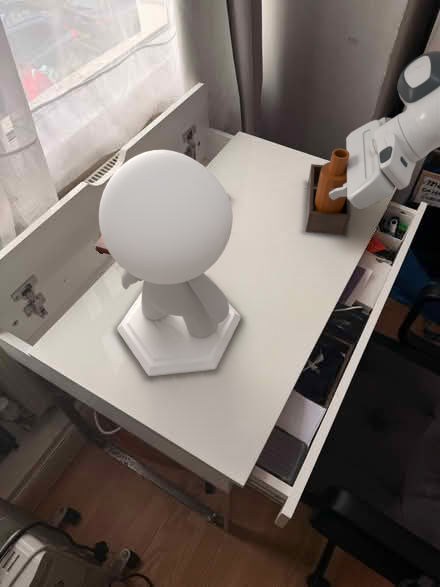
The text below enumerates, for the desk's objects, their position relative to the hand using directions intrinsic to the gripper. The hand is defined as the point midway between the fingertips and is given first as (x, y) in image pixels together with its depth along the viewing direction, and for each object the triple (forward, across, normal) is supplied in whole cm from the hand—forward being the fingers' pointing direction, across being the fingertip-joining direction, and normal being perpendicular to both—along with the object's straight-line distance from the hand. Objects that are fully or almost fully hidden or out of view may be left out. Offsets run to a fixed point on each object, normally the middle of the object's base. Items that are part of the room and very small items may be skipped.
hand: (330, 183), depth 88 cm
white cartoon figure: (+25, +31, -11) cm, 42 cm away
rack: (+7, -4, +8) cm, 11 cm away
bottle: (+6, 0, +7) cm, 9 cm away
